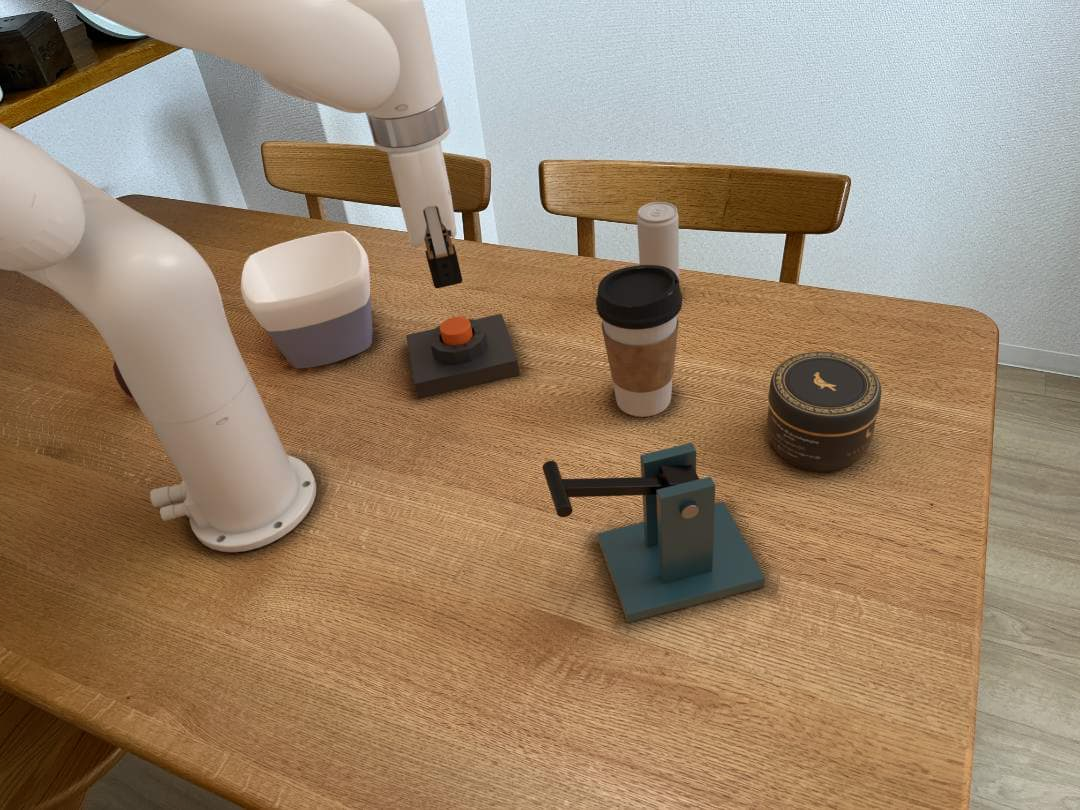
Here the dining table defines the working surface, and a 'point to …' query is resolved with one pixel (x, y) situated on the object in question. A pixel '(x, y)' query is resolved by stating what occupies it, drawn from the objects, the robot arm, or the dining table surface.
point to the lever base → (678, 546)
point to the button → (456, 331)
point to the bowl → (312, 297)
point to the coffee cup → (640, 335)
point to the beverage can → (658, 235)
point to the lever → (611, 484)
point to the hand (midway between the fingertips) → (447, 281)
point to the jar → (822, 410)
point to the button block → (462, 358)
